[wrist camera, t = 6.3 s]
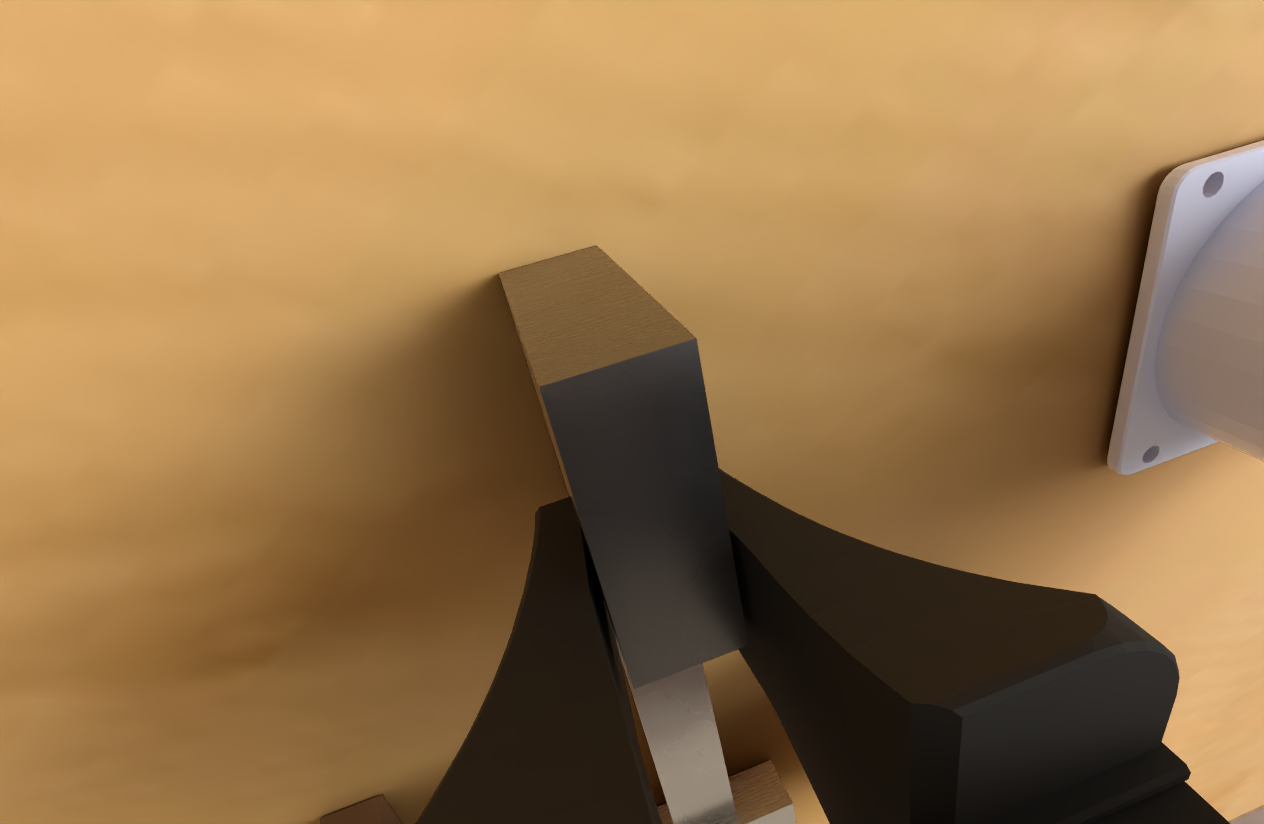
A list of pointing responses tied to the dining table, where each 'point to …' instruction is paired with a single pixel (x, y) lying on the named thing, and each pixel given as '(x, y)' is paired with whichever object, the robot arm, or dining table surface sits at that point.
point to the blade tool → (646, 513)
